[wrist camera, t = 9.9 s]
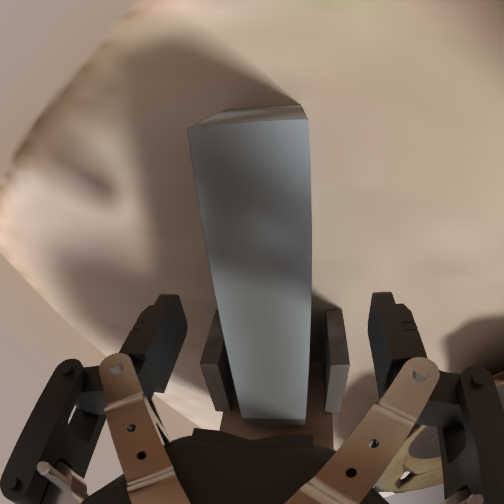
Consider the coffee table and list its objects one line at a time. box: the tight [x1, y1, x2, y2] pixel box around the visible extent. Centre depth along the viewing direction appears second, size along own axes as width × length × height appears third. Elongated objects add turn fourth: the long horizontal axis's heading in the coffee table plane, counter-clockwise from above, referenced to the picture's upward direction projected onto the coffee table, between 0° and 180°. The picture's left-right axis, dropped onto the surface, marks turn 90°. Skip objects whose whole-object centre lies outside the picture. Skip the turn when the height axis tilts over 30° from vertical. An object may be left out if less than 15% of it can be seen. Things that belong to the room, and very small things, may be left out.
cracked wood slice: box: [374, 371, 504, 493], centre depth 21 cm, size 22×30×8 cm
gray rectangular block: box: [187, 105, 312, 425], centre depth 15 cm, size 4×16×6 cm, turn 5°
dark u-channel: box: [200, 310, 350, 449], centre depth 17 cm, size 8×12×14 cm, turn 6°
